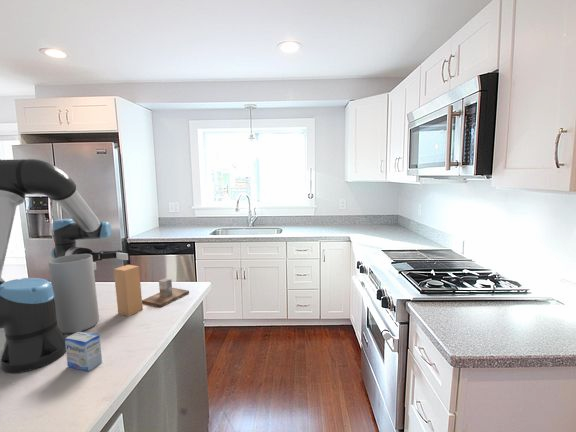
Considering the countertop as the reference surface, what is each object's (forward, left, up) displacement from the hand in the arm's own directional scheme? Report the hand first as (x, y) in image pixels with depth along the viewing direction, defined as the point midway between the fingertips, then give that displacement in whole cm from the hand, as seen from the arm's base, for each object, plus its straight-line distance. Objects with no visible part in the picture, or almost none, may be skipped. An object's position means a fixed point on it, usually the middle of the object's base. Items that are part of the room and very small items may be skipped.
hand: (112, 261), depth 121 cm
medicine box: (-41, +1, -20) cm, 45 cm away
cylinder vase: (-13, +10, -20) cm, 25 cm away
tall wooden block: (-7, -6, -19) cm, 21 cm away
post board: (+2, -19, -19) cm, 27 cm away
